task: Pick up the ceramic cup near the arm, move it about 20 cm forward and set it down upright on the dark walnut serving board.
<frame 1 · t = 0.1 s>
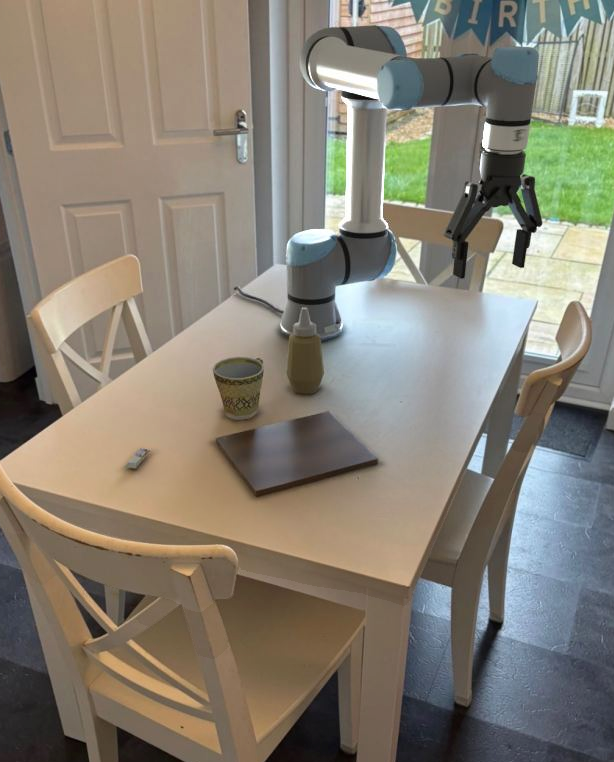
hand: (488, 271, 147), 28 cm above the table, tool pointing down, fingers open, 13 cm apart
serving board: (295, 453, 146), on the table
granola bar: (138, 461, 143), on the table
squeeze bottle: (305, 389, 168), on the table
ceramic cup: (245, 410, 160), on the table
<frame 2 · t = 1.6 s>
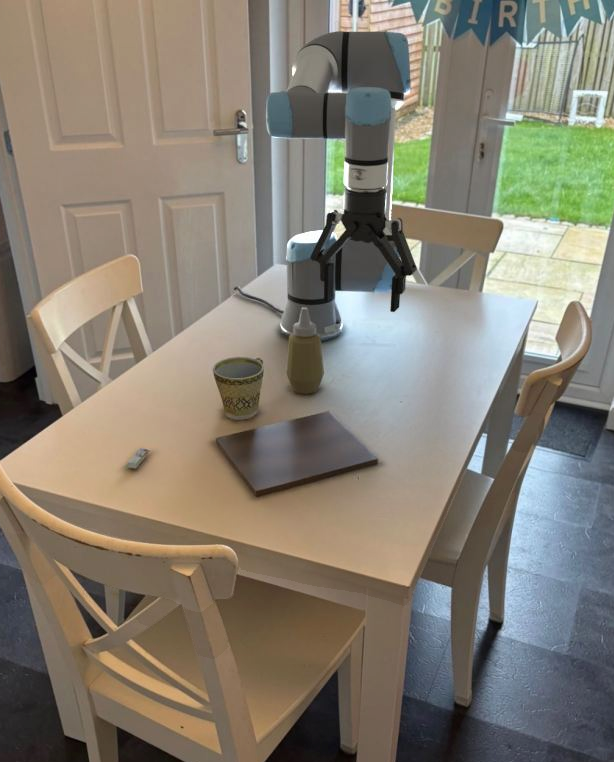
hand: (361, 303, 149), 22 cm above the table, tool pointing down, fingers open, 13 cm apart
nothing on the table moved.
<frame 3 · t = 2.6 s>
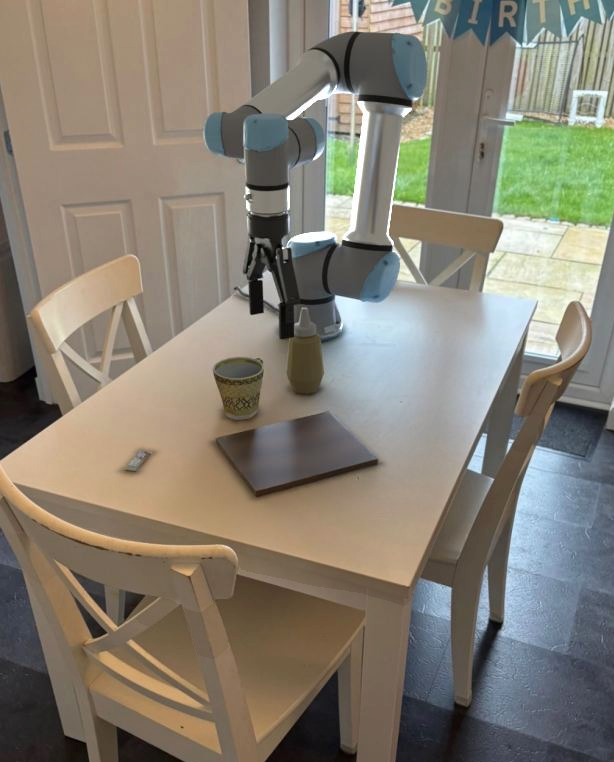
hand: (271, 325, 150), 18 cm above the table, tool pointing down, fingers open, 13 cm apart
nothing on the table moved.
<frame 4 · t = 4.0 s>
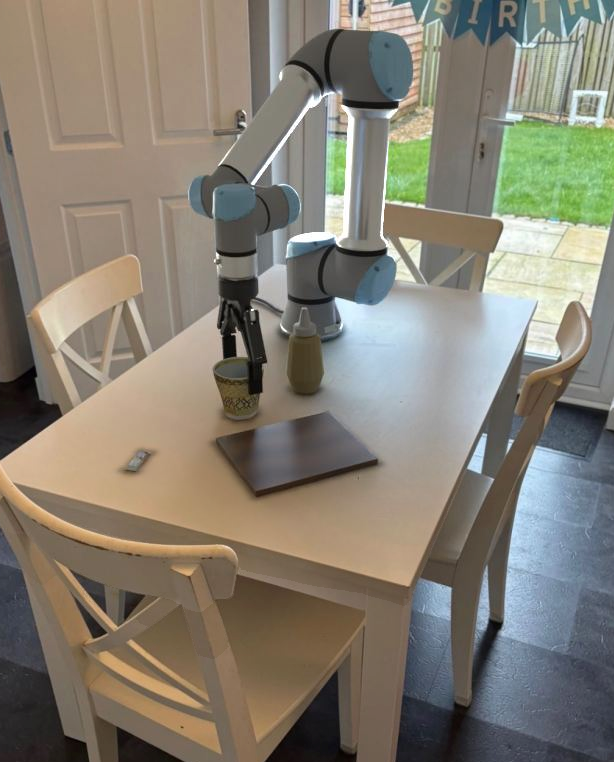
hand: (242, 379, 156), 7 cm above the table, tool pointing down, fingers open, 13 cm apart
nothing on the table moved.
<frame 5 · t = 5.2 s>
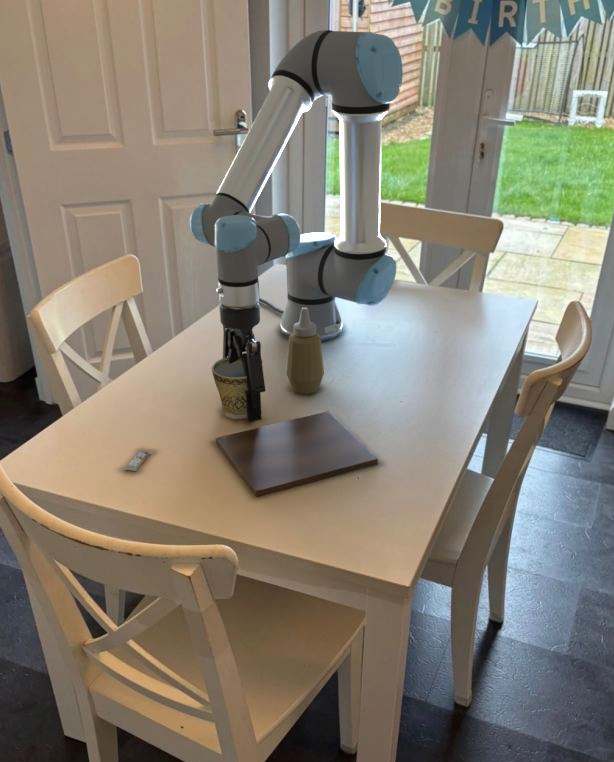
hand: (245, 409, 159), 0 cm above the table, tool pointing down, fingers closed on ceramic cup, 9 cm apart
ceramic cup: (244, 409, 160), on the table, touching gripper
everything else where it was.
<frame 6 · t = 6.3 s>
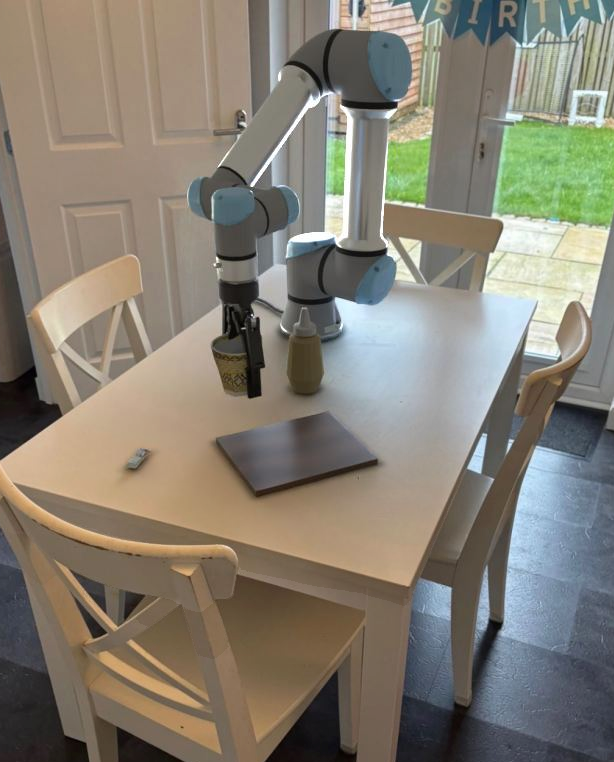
hand: (245, 386, 157), 5 cm above the table, tool pointing down, fingers closed on ceramic cup, 9 cm apart
ceramic cup: (244, 386, 158), point 5 cm above the table, touching gripper
everything else where it was.
when the fingers open (1 cm above the table, at t = 12.4 s): ceramic cup stays where it is, resting on serving board.
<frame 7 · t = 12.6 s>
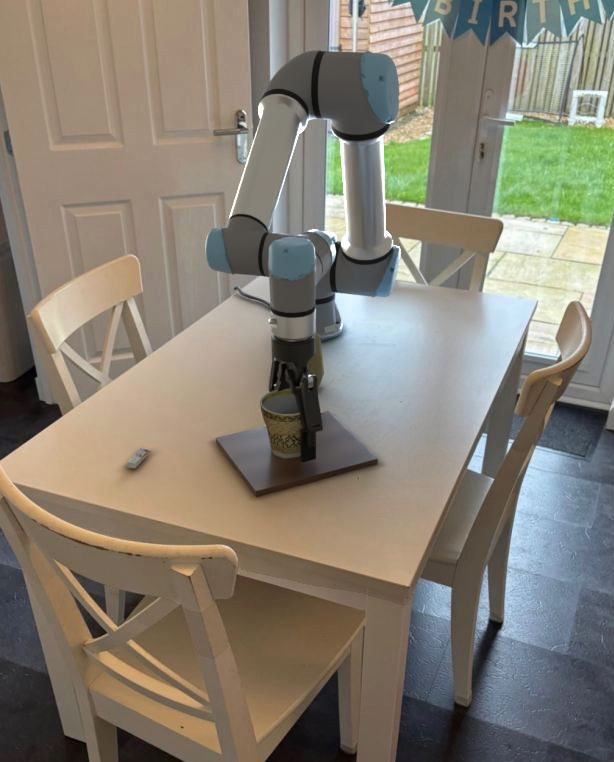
hand: (295, 445, 145), 2 cm above the table, tool pointing down, fingers open, 11 cm apart
ceramic cup: (293, 446, 146), point 1 cm above the table, touching serving board
everything else where it was.
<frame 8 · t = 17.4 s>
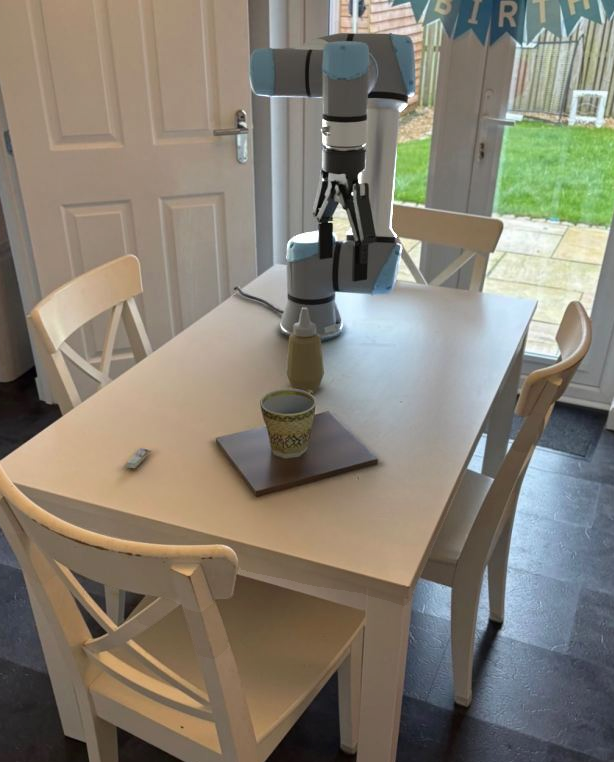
hand: (341, 268, 145), 29 cm above the table, tool pointing down, fingers open, 13 cm apart
nothing on the table moved.
at the end: ceramic cup inside the target area on the serving board (0.8 cm from its centre), point 1.0 cm above the serving board's base; ceramic cup tilted 0°; ceramic cup moved 19.3 cm from its start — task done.
